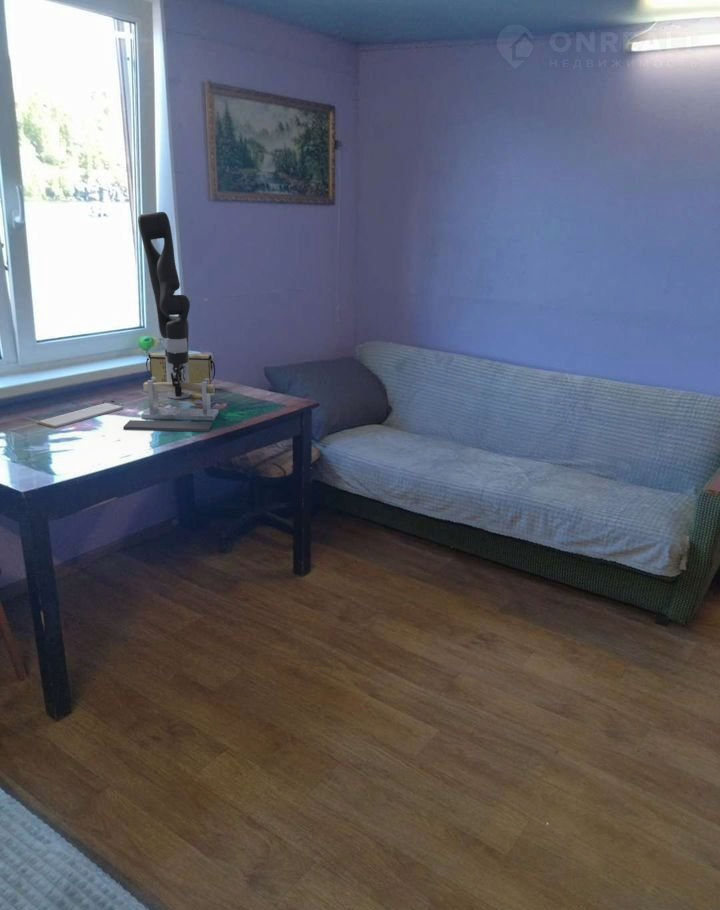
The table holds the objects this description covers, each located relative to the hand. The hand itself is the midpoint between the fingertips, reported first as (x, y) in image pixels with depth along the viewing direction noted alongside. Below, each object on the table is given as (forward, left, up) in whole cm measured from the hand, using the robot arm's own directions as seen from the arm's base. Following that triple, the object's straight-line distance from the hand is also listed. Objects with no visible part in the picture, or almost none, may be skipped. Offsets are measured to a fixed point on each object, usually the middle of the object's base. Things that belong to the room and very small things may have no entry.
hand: (179, 394), depth 265 cm
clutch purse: (-45, -10, -9) cm, 47 cm away
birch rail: (0, 0, +1) cm, 1 cm away
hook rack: (0, 0, -8) cm, 8 cm away
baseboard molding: (+3, -37, -9) cm, 38 cm away
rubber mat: (+15, -1, -8) cm, 17 cm away
